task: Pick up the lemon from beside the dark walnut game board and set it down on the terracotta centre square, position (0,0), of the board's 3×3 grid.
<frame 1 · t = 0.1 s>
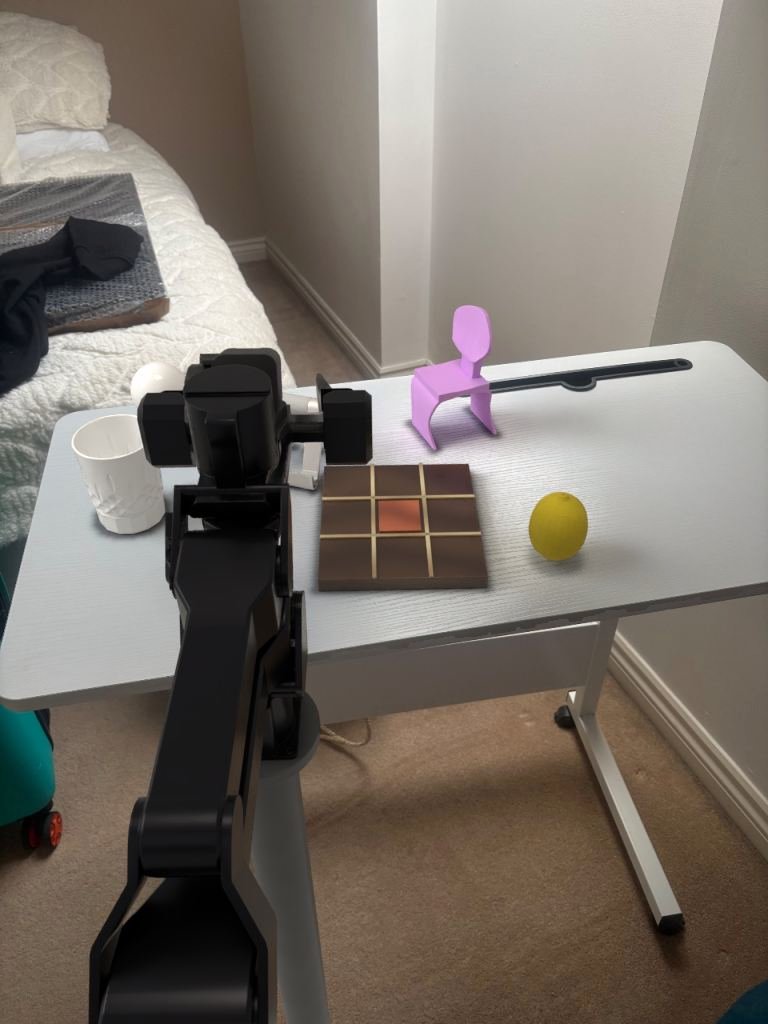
hand: (267, 378, 74), 18 cm above the table, tool horizontal, fingers open, 9 cm apart
board: (399, 527, 86), on the table
lemon: (552, 559, 82), on the table
white cup: (133, 515, 88), on the table
tablet stand: (290, 468, 94), on the table
lightbulb: (172, 449, 97), on the table
toy chair: (452, 430, 100), on the table
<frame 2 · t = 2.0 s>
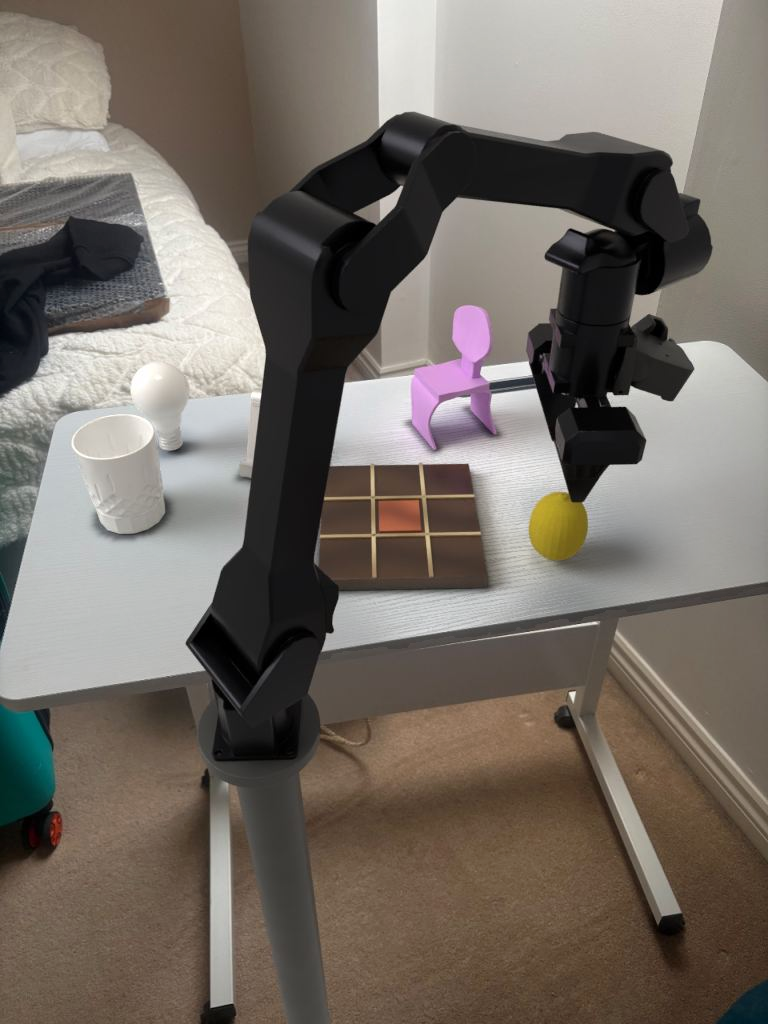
hand: (566, 469, 75), 11 cm above the table, tool pointing down, fingers open, 9 cm apart
nothing on the table moved.
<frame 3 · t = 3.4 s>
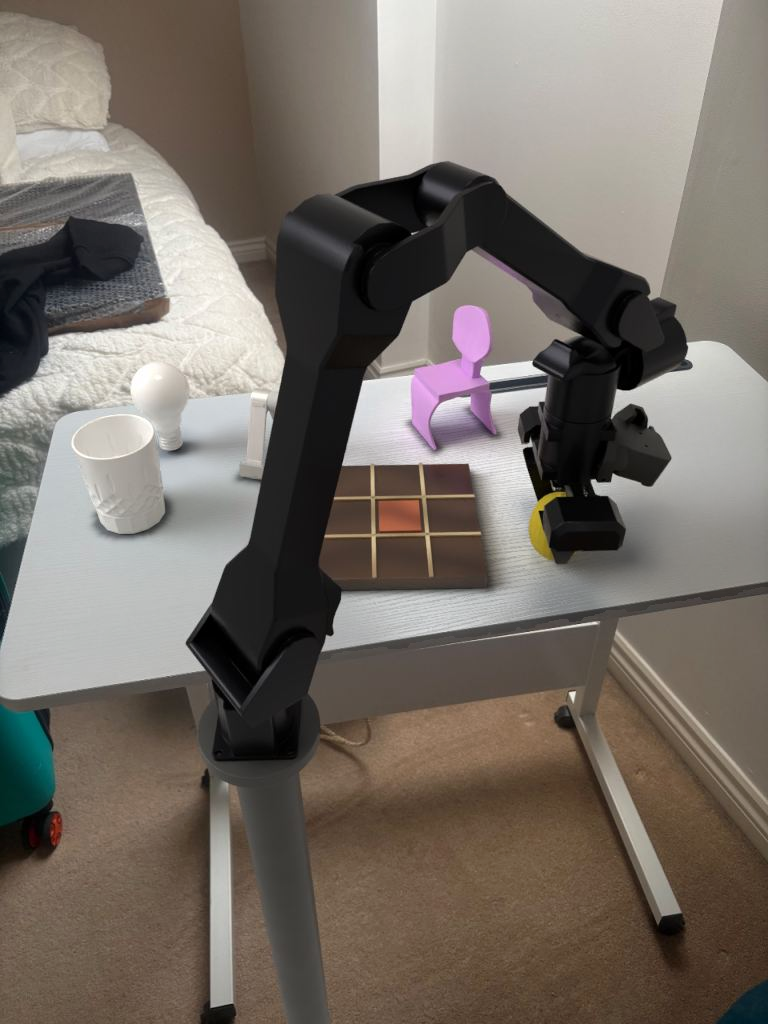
hand: (555, 542, 81), 2 cm above the table, tool pointing down, fingers closed on lemon, 5 cm apart
lemon: (552, 559, 82), on the table, touching gripper
everything else where it was.
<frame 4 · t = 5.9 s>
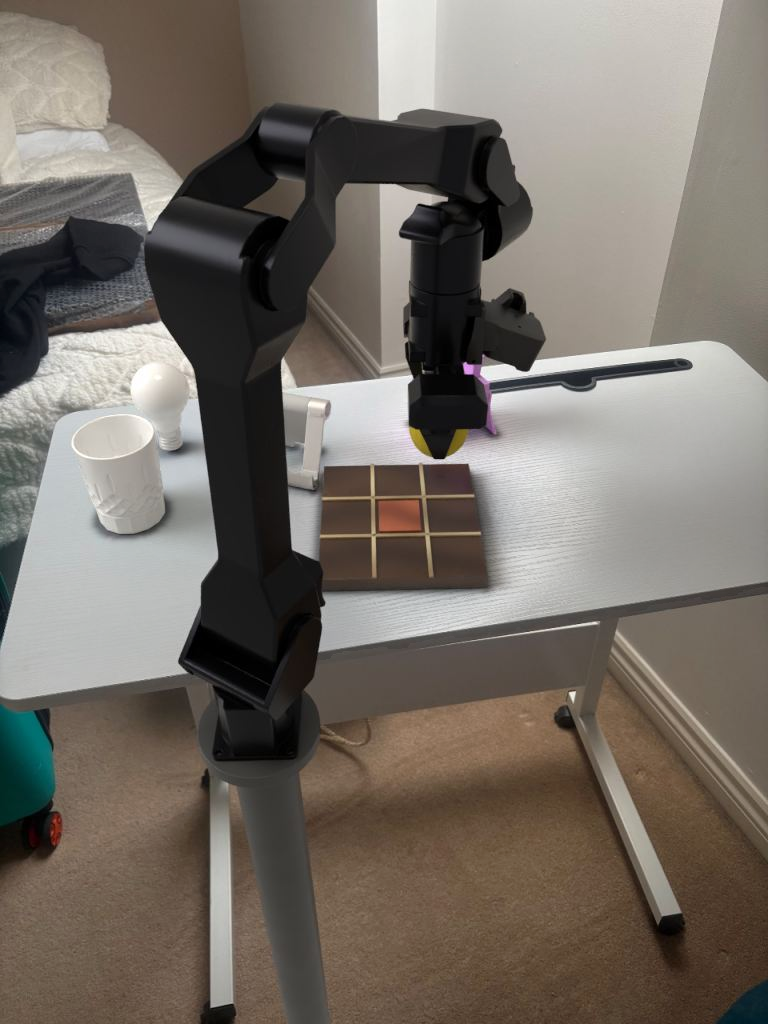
hand: (437, 440, 77), 12 cm above the table, tool pointing down, fingers closed on lemon, 5 cm apart
lemon: (437, 459, 79), point 10 cm above the table, touching gripper
everything else where it was.
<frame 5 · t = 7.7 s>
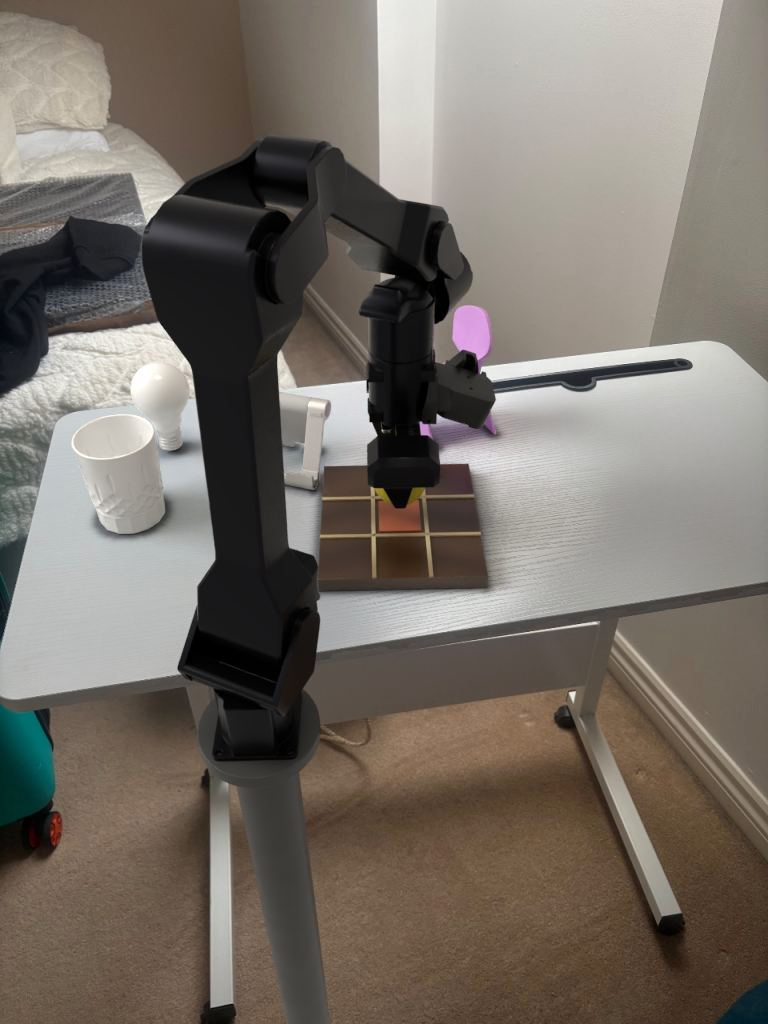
hand: (399, 489, 82), 5 cm above the table, tool pointing down, fingers closed on lemon, 5 cm apart
lemon: (399, 506, 84), point 3 cm above the table, touching gripper
everything else where it was.
when the fingers open (4 cm above the table, at t = 8.6 s): lemon stays where it is, resting on board.
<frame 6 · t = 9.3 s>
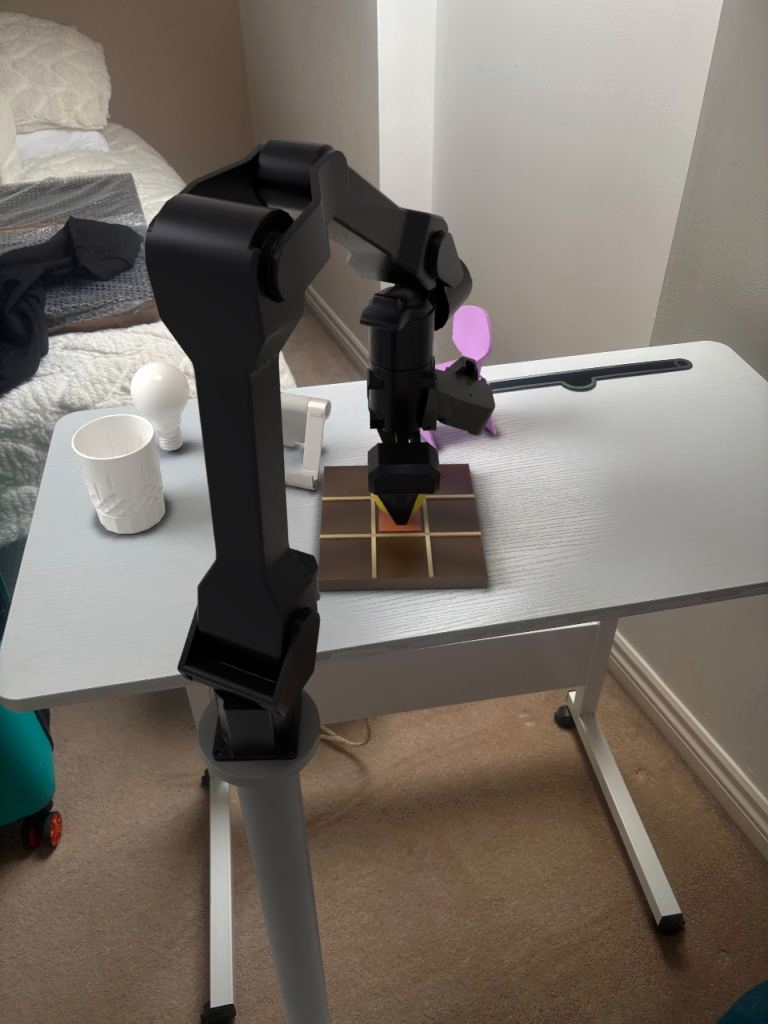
hand: (399, 494, 83), 4 cm above the table, tool pointing down, fingers open, 9 cm apart
lemon: (399, 517, 85), point 2 cm above the table, touching board
everything else where it was.
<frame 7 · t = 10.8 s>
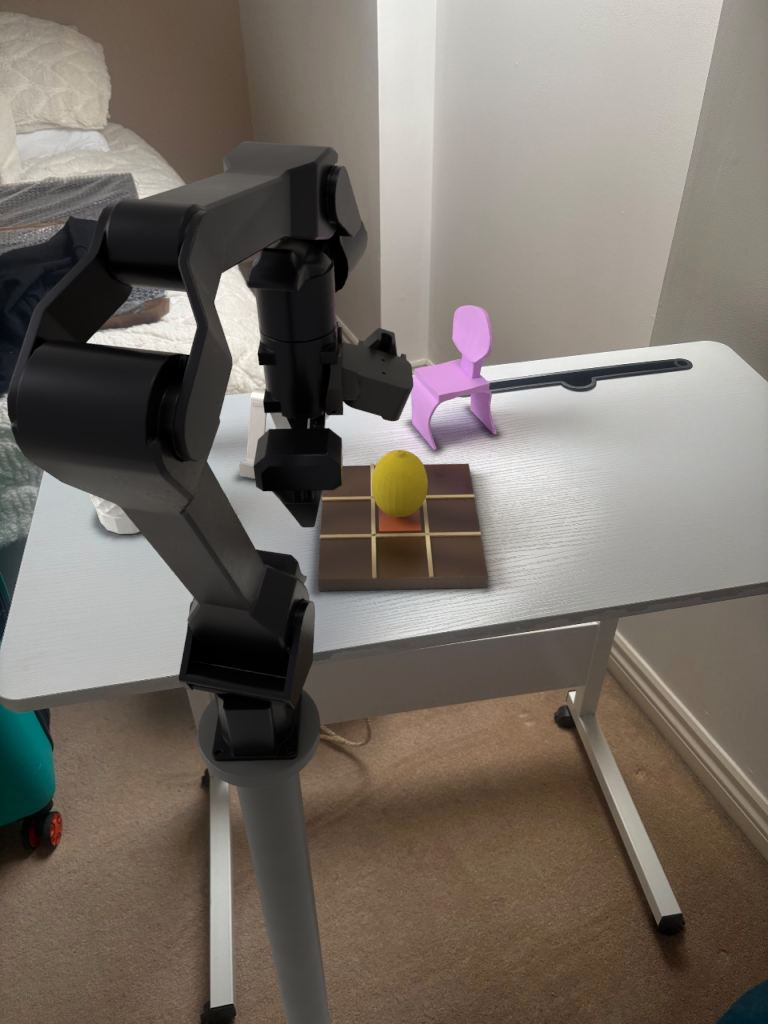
hand: (311, 491, 71), 12 cm above the table, tool pointing down, fingers open, 9 cm apart
nothing on the table moved.
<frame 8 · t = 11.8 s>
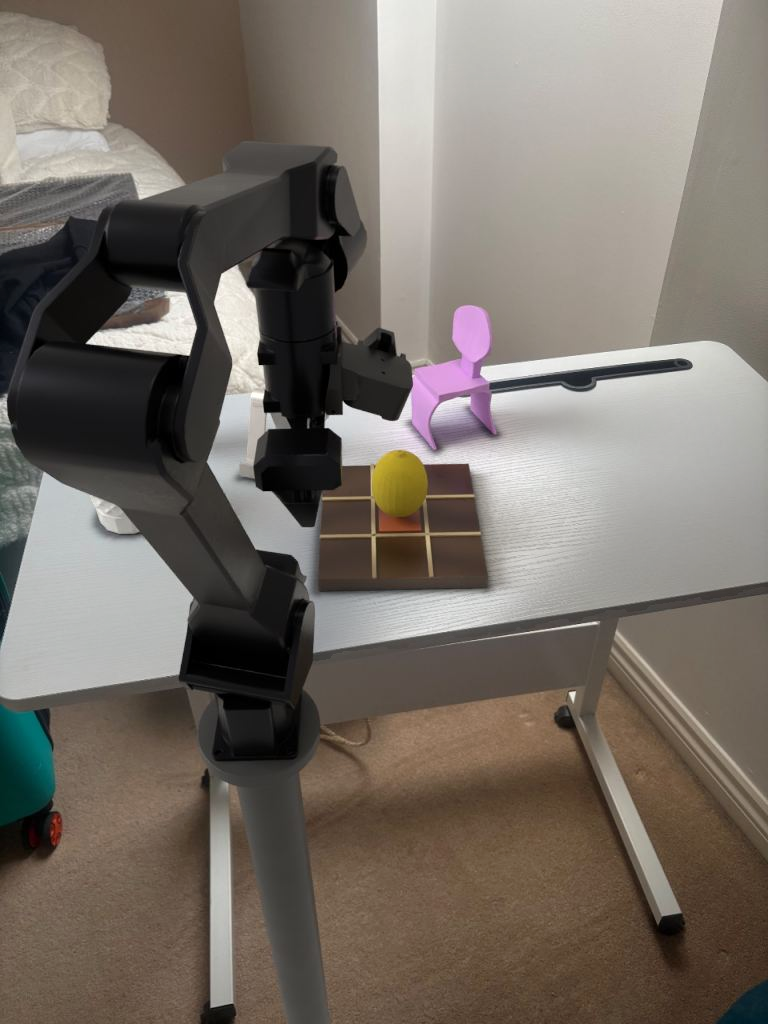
hand: (310, 491, 71), 12 cm above the table, tool pointing down, fingers open, 9 cm apart
nothing on the table moved.
at the end: lemon 0.1 cm off-centre on the board, point 1.5 cm above the board's base; the gripper is holding nothing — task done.
